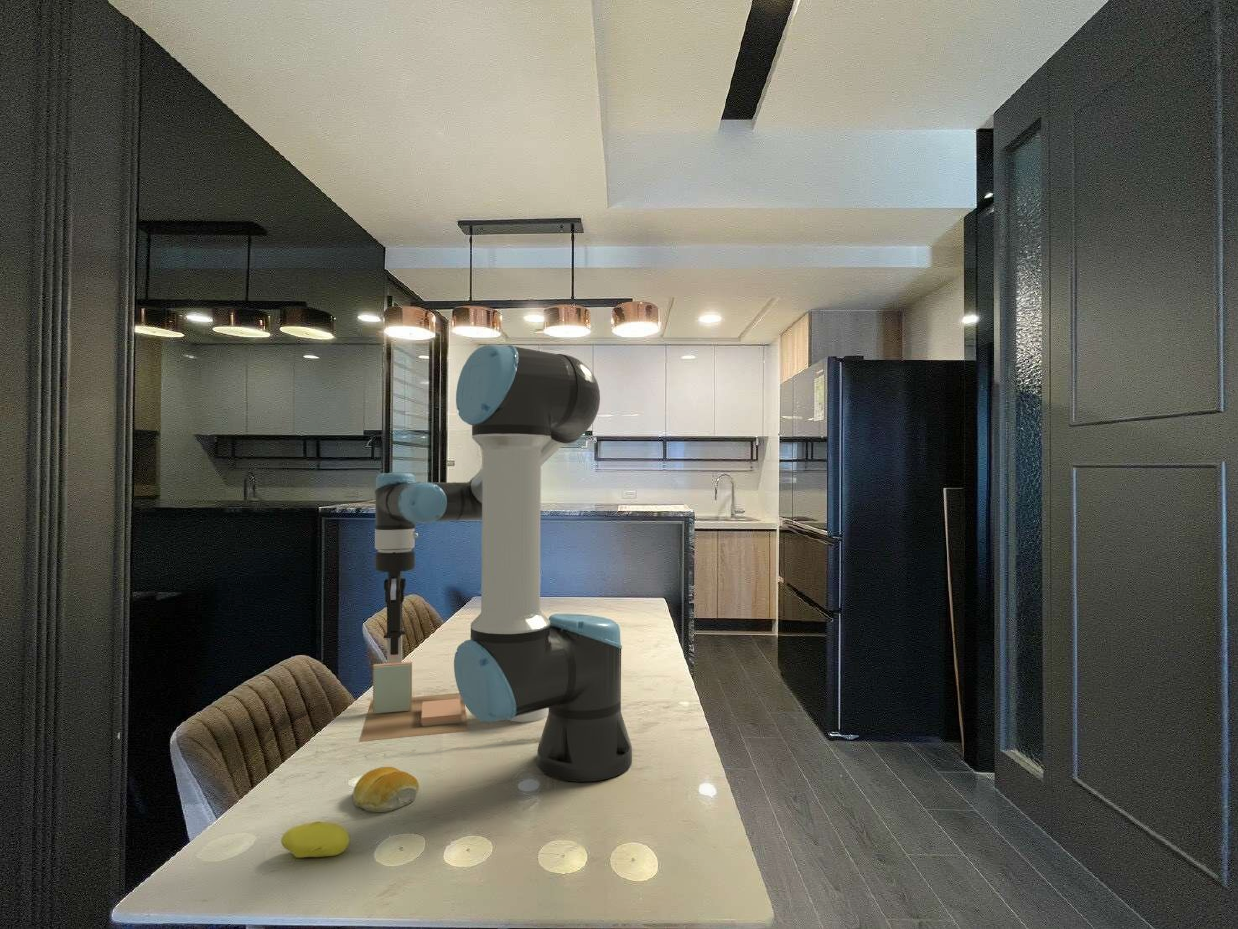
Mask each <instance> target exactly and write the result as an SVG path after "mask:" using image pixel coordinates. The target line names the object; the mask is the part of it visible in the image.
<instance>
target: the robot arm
mask: <svg viewBox="0 0 1238 929" xmlns="http://www.w3.org/2000/svg"><path fill="white" fill-rule="evenodd" d="M456 385H457V386H456V391H455V393H456V394H455V404H456V405H455V406H456V410H457V411H458V416H459V418H460V419H461V420H462V421H463V422H464V423H465V424H468V425H470V426H471V439H472V440H473V441H474V442H475V443H476V444H477V445H478V446H479V447H480V448H481V450H482V452H481V454H482V456H481V458H482V460H481V461H482V462H481V463H482V464H481V467H482V468H480V469H479V471H478V472H477V473H476V474H475V475H474V476H473V477H472V478H471V479H470V480H469V481H466V482H465V481H463V482H455V481H453V482H429V481H416V477H415V474H413V473H411V472H410V473H409V472H388V473H387V472H382V473H378V474H377V476H376V478H375V488H374V496H375V498H374V499H375V501H374V505H375V509H374V510H375V512H374V513H375V515H374V516H375V517H374V518H375V523H374V524H375V529H374V549H375V550H377V551H376V553H375V555H374V570H375V571H377V572H381V573H386V572H387V574H388V575H387V578H385V580H384V581H383V589H384V591H385V592H384V593H385V594H384V595H385V596H384V599H385V600H384V602H385V604H386V634H383V639H386V642H387V643H386V650H387V651H386V654H387V655H386V656H387V657H386V658H387V659H386V664H387V663H401V662H403V635H406V630H403V627H404V626H403V603H404V600H405V588H406V584H407V577H406V578H403V572H408V571H412V570H414V569H415V567H416V552H415V551H414V550H412V549H414V548H415V546H416V544H415V543H416V542H415V541H416V539H417V538H418V537H419V534H418V532H415V531H416V524H419V525H421V524H430V523H434V522H435V523H437V522H438V523H439V522H454V521H456V522H458V521H481V576H480V577H481V586H480V588H481V594H480V595H481V598H480V600H481V603H480V604H481V605H480V607H481V608H480V609H481V610H480V613H479V614H478V615H477V616H476V617H475V619H473V621H472V622H470V639H466V640H464V642H461V643H460V644H459V645H458V646H457V648H456V651H455V652H454V658H453V670H454V671H453V672H454V679H455V682H456V686H457V691H458V693H460V696H461V698H462V700H463V702H464V704H465V708H466V709H467V710H468V711H469V712H470V714H471V715H472V716H474V718H475V719H477V720H479V721H481V722H485V723H492V722H498V721H503V720H506V721H510V720H509V719H513V718H514V717H517V716H520V715H524V714H527V713H531V712H535V711H538V710H542V709H545V708H549V711H548V717H546V720H545V722H544V723H545V724H544V726H543V727H544V728H543V730H542V733H541V735H540V736H541V737H540V740H539V742H538V747H537V754H536V756H537V759H536V760H537V761H536V762H537V768H538V769H539V770H540V772H542V773H543V774H545V775H546V776H549V777H550V778H553V779H557V780H560V781H567V782H574V783H575V782H577V783H581V782H582V783H585V782H588V783H589V782H598V781H604V780H608V779H611V778H614V777H617V776H619V775H622V774H623V773H626V772H627V770H628V769H630V767H631V766H632V764H633V747H632V743H631V740H630V737H629V733H628V730H627V727H626V724H625V721H624V717H623V714H622V684H621V683H622V649H623V645H622V641H621V628H620V626H619V624H618V623H617V622H616V621H614V620H612V619H610V618H607V617H602V616H597V615H592V614H591V615H589V614H580V613H554V614H552V615H550V616H548V617H546V615H545V614H544V613H543V612H542V611H541V511H542V510H541V506H542V505H541V501H542V499H541V495H542V494H541V493H542V492H541V491H542V490H541V489H542V488H541V487H542V480H541V477H542V476H541V474H542V469H541V467H542V466H543V464H544V463H546V462H547V461H548V460H549V459H550V458H551V457H552V456H553V455H554V454H555V453H556V452H557V451H558V450H559V449H560V448H562V447H563V446H564V445H570V444H574V443H575V442H576V441H578V439H580V438H581V437H582V436H583V435H584V434H585V433H586V432H587V431H588V429H589V428H591V426H592V424H593V423H594V421H595V420H596V417H597V415H598V413H599V409H600V405H601V404H600V403H601V394H600V393H601V392H600V391H601V390H600V388H599V383H598V381H597V378H596V376H595V375H594V372H592V370H591V369H590V368H589V367H588V366H587V365H586V364H585V363H583V362H582V361H581V360H580V359H578V358H576V357H574V356H571V355H568V354H563V353H553V352H548V351H540V350H536V349H530V348H524V347H519V346H514V345H501V344H500V345H497V344H496V345H495V344H486V345H483V346H479V347H478V348H476V349H475V350H474V351H473V352H472V353H471V354H470V355H469V357H467V359H466V361H465V363H464V365H463V366H462V369H461V370H460V374H459V376H458V380H457V384H456Z"/></svg>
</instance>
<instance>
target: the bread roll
mask: <svg viewBox="0 0 1238 929" xmlns="http://www.w3.org/2000/svg"><path fill="white" fill-rule="evenodd" d="M419 789H420V785H419V781H418V779H417V778H416V777H415V776H413V775H412V774H410V773H408V772H405V771H401V770H400V769H398V768H396V767H393V766H381V767H377V768H374V769H371V770H369V771H367V772H366V773H365V774H363V775H362V776H361V777H360V778H359V780H358V781H357V782H356V784H355V786H354V789H353V793H352V799H353V803H354V805H355V806H356V807H357V808H361V809H363V810H365V811H366V812H371V813H384V812H391V811H395V810H398V809H400V808H403V807H405V805H406V806H407V804H408V805H409V804H412V802H413V801H414V800H415V799H416V797H417V794H418V791H419ZM394 809H395V810H394Z"/></svg>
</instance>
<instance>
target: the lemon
mask: <svg viewBox="0 0 1238 929" xmlns="http://www.w3.org/2000/svg"><path fill="white" fill-rule="evenodd" d="M280 841H281V842H280V843H281V845H282V848H284V849H285V850H287V851H289V852H291V854H292V855H293V856H294V857H295V858H299V859H303V858H308V857H309V858H310V857H311V858H322V857H334V856H338V855H340V854H342V853H344V851H345V850H346V849H347V847H348V846H349V843H350V836H349V832H348V831H347V830H346V829H345V828H344V827H343V826H341V825H340V824H337V823H334V822H331V821H318V820H317V821H312V822H309V823H303V824H300V825H296V826H293V827H291V828H289V829H288V830H287V831H286V832H284V833H283V835H282V837H281V839H280Z"/></svg>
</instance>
